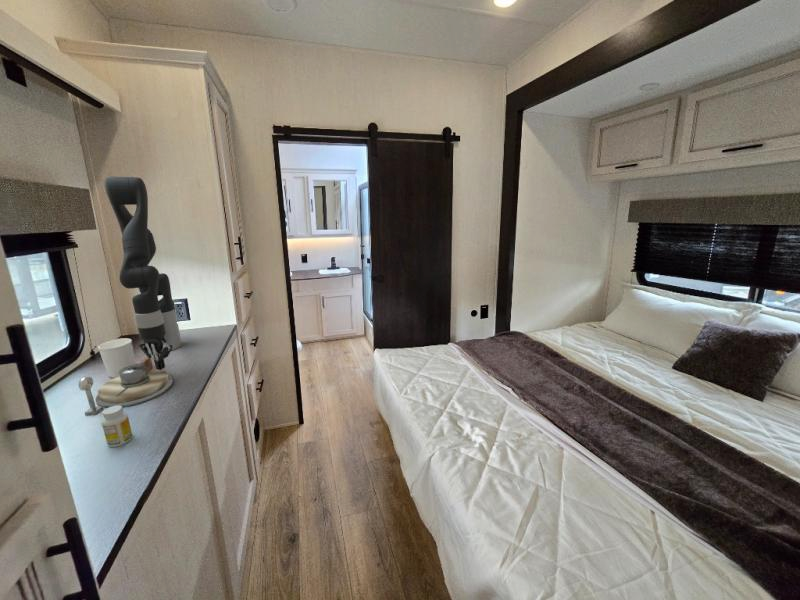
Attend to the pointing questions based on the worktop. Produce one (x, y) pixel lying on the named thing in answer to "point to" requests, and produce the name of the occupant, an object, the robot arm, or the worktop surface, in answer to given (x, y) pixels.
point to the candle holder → (117, 355)
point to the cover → (133, 376)
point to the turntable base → (137, 401)
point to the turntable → (117, 394)
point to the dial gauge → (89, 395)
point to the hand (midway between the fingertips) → (160, 368)
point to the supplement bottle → (116, 426)
